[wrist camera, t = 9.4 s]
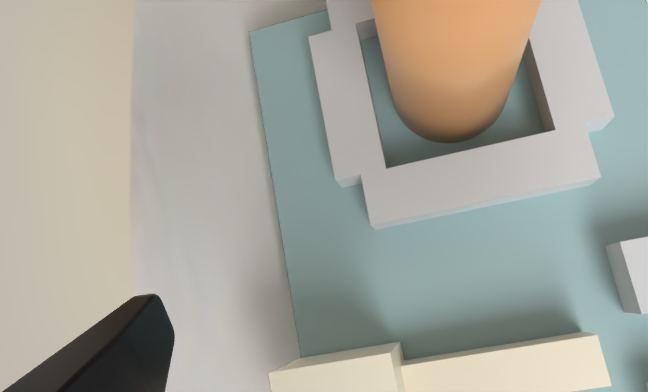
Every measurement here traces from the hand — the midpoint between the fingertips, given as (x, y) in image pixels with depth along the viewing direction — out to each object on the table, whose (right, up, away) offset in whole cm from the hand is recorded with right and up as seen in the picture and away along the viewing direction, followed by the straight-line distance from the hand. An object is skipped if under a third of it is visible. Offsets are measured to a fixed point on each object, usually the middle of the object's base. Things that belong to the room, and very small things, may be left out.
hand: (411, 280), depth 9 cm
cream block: (+3, -5, +11) cm, 12 cm away
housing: (+5, +1, +13) cm, 13 cm away
